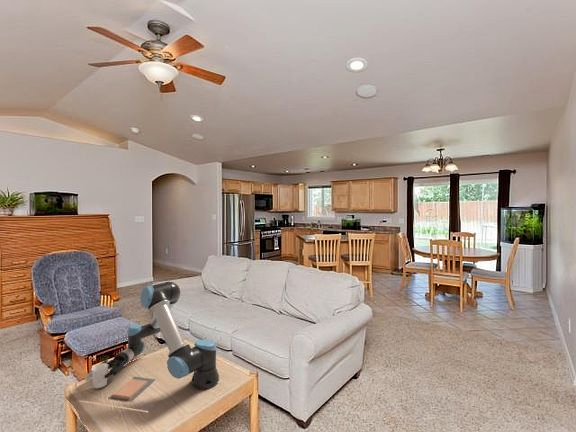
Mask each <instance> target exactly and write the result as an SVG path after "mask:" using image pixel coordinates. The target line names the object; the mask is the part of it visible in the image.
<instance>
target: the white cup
mask: <svg viewBox="0 0 576 432" xmlns="http://www.w3.org/2000/svg"><path fill="white" fill-rule="evenodd" d="M101 363H102V362H101ZM90 370H91V371H92V377H91V382H92V388H94V389H100V388H103V387H106V386H107V384H108V378H109V377H108V378H106V379H104V380H103V381H102V382H100V383H99V377H100V376H102V375H103V374H104V373H106V372H107V371H109V369H108V364H106V363H102V364H100V363H98V364H96V365H93V366H92V367H91V369H90ZM91 371H90V372H91Z"/></svg>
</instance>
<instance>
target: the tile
mask: <svg viewBox="0 0 576 432" xmlns="http://www.w3.org/2000/svg"><path fill="white" fill-rule="evenodd" d="M146 385H147V381H143V380H136V379H132V378H130V379H129V380H128V381H127V382H126V383H124V384H123V385H122V386H121V387H119V389H117V390H116V391H115V392H113V393H112V394H113V397H115V398H121V399H128V400H130V399H131V398H132V397H133V396H134V395H136V394H137V393H138V392H139V391H140V390H141V389H142V388H143V387H144V386H146Z"/></svg>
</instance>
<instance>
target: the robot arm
mask: <svg viewBox="0 0 576 432" xmlns="http://www.w3.org/2000/svg"><path fill="white" fill-rule="evenodd" d="M180 296H181V288H180V286H179V285H178V284H177V283H175V282H173V281H165V282H160V283H157V284H156V283H155V284H150V285H148V286H145V287H144V288H142V290H141V293H140V296H139V297H140V300H139V301H140V303H141V306H142V308H144V309H148V311H149V312H150V313H153V317H152V318H151V321H150V322H149V323H147V324H144V325H142V326H141V324H139V323H138V324H132V325H130V326H129V327H128V328H127V348H125V349H124V350H121V351H120V352H119V353H117V354H116V355H115V356H114V357H113V358H112V359H110V360H109V359H105V360H104V361H102V362H100V363H99V364H102V363H106V364H108V371H107V372H106V373H104V374H103V375H102V376H100V377H99V383H100V382H102V381H103V380H104V379H106V378H109V377H111V376H117V375H118V374H119V373H120V372H121V371H122V370H123V369H124V368H126V367H127V364H128V363H129V362H131V361H132V360H133V359H135V358H137V357H138V356H139V355H140V354H142V353H143V352H144V351H145V349H146V345H145V343H144V342H143V341H142V339H145V338H147V337H150V336H152V335H153V336H154V335H157V334H159V333H161V334H162V337H163V340H164V341H165V342H164V343H165V345H166V346H167V349H168V351H169V353H168V355H167V356H168V359H167V361H166V365H167V367H166V368H167V371H168V372H169V374H170V375H171V376H172V377H173V378H175V379H178V380H179V379H181V378H184V377H187V376H188V375H190V374H192V373H193V374H192V376H191V385H192V387H193V388H194V389H196V388H197V389H198V390H207V389H206V388H208V389H210V388H209V387H211V388H213V387H215V386H216V385H217V384H218V383H219V382H220V374H219V372H218V369H217V345H216V342H215V341H214V340H211V339H198V340H196V341H195V342H194V346H193V347H191V345H190V344H189V343H187V342H185V340H184V337H183V334H182V333H181V331H180V327H179V326H178V323H177V321H176V319H175V317H174V315H173V313H172V308H173V307H174V305H176V304H177V303H178V300H179V299H180ZM84 377H85V378H84V379H85V380H84V381H86V382H87V381H89V380H90V379H92V371H89V373H87V374H86V375H85V376H84ZM218 381H219V382H218ZM217 382H218V383H217ZM216 383H217V384H216ZM215 384H216V385H215ZM214 385H215V386H214ZM212 386H213V387H212Z"/></svg>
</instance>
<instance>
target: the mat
mask: <svg viewBox="0 0 576 432" xmlns="http://www.w3.org/2000/svg"><path fill="white" fill-rule="evenodd" d="M131 379H136V380H143V381H147V385H146V386H144V387H143V388H142V389H141V390H140V391H139V392H138V393H137V394H136V395H134V396H133V397H132V398H131V399H130V400H128V399H121V398H115V397H113V393H112V394H111V395H110V396H108V397H107V399H111V400H117V401H122V402H123V401H124V402H132V403H133V401H135V400H136V398H138V397H139V396H140V395H142V393H143V392H144V391H145V390H147V388H149V387H150V386H151V385H152V384H153V383H154V382H155V381H157V380H156V379H155V378H148V377H141V376H133V377H132V378H131Z"/></svg>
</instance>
